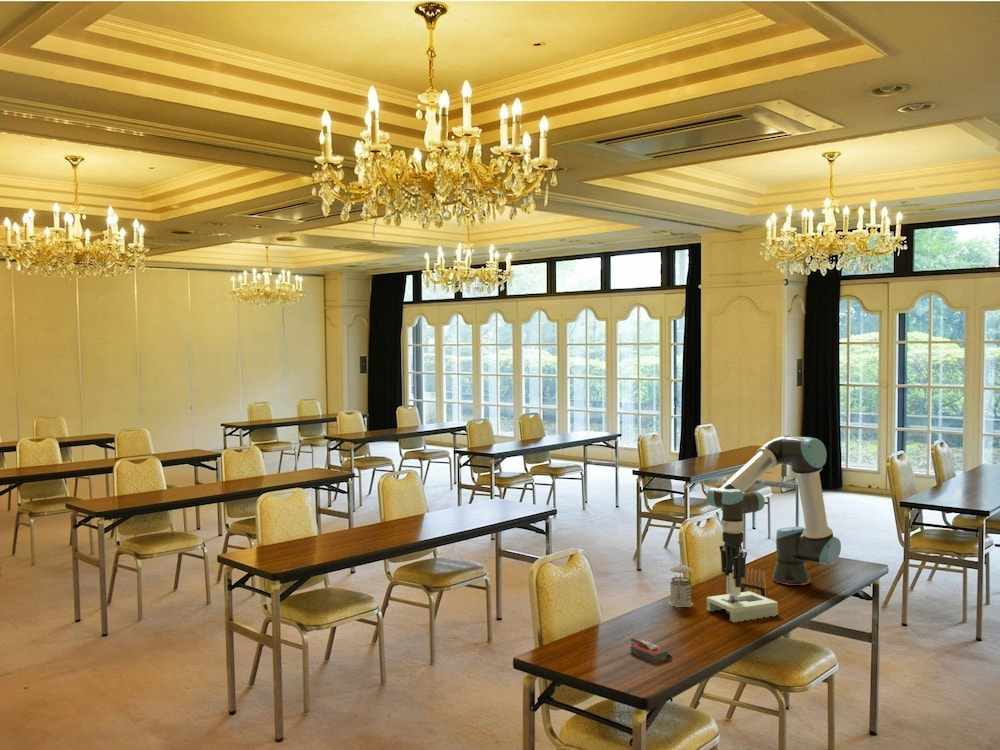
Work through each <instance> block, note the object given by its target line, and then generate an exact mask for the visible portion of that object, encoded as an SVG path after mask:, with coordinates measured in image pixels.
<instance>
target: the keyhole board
mask: <svg viewBox="0 0 1000 750" xmlns="http://www.w3.org/2000/svg"><path fill="white" fill-rule="evenodd" d="M778 604H779V602H778V601H776V600H774V599H771V598H768V597H767V598H766V597H763V596H761V595H758V594H756V593H753V592H750V591H747V592H741V591H740V595H739V596H737V602H735V603H733V602H730V601H729V594H728V593H726V594H725V593H724V594H719V595H712V596H706V611H707V610H708V611H707V612H709V611H711V612H715V610H718V611H722V610H721V609H725V611H726V610H728V611H730V615H729V621H730V622H731V621H732V622H731V623H738V621H739V622H745V621H744V620H746V621H752V620H757V618H759V619H764V618H763V617H765V618H770V617H769V616H772V617H777V616H776V615H778V616H779V611H778V610H779V605H778ZM751 619H752V620H751Z"/></svg>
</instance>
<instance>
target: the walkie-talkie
mask: <svg viewBox="0 0 1000 750" xmlns="http://www.w3.org/2000/svg"><path fill="white" fill-rule="evenodd" d="M630 641H631V642H632V643H634V644H632V645H630V654H631V653H633V654H636V655H638V656H640V657H639V658H641V657H642V658H641V659H643V658H645V659H644V660H646V659H647V660H646V661H648V660H649V661H648V662H650V661H651V663H653V662H658V663H662V662H665V661H668V660H669V659H670V660H671V659H672V658H673V656H672V654H669V651H668V650H665V649H662V648H660V647H659V646H658V645H656V644H654V643H652V642H650V641H647V640H646V639H642V640H638V639H635V638H632V637H631V638H630ZM633 654H632V655H633ZM636 655H635V656H636ZM638 656H637V657H638ZM664 660H665V661H664ZM661 661H662V662H661Z"/></svg>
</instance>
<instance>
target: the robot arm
mask: <svg viewBox="0 0 1000 750" xmlns="http://www.w3.org/2000/svg"><path fill="white" fill-rule="evenodd" d="M827 455H828V454H827V449H826V446H825V444H824V443H823V442H822V441H821V440H820V439H818V438H815V437H811V436H791V435H780V436H778V437H775V438H773V439H771V440H769V441H767V442H765V443H764V444H763V445H761V446H760V447H759V448H758V449H757V450H756V451H755V455H754V456H752V457H751V459H749V460H747V462H746V463H745V464H744V465H743V466H742V467H741V468H739V469H738V470H737V471H736V472H735V473H734V474H733V475H731V477H729V478H728V479H727V480H726V481H725V482H724V483H723V484H722V485H721V486H719V487H711V488H709V489H708V490H707V492H706V497H705V499H706V503H707V504H708V505H709V506H711V507H714V508H717V509H718V508H719V509H722V511H721V512H722V514H721V515H722V530H723V531H722V537H721V538H722V542H723V543H724V544H723V545H720V546H719V551H720V560H721V564H720V565H721V572H722V573H724V575H725V583H726V594H729V572H734V577H733V596H739V595H740V592H741V583H742V578H744V577H745V571H746V562H747V555H748V552H747V551H743V547H742V543H744V532H743V531H744V515H745V514H750V513H751V514H752V513H756V512H760V511H762V510H763V508H764V507H765V505H766V501H765V497H764V496H763V494H762V493H760V492H759V491H747V490H748V489H749V488H750V487H751V486H752V485H753V484H754V483H755V482H756V481H758V480H759V478H761V477H762V476H763V475H764V474H765V473H767V471H768V470H771V469H774V468H775V467H776V466H778V465H790V466H791V471H792V473H793V474H795V475H796V476H797V484H798V490H799V496H800V503H801V507H802V514H803V520H804V527H803V526H789V527H788V526H787V527H781V528H778V529H777V530H776V536H775V537H776V538H775V540H776V541H775V543H776V545H775V546H776V551H775V552H776V563H775V567H774V571H773V573H772V576H771V577H772V579H773V580H775V581H777V582H781V583H788V584H801V583H806V582H808V581H810V582H811V578H810V575H809V574H810V573H809V571H808V569H807V566H806V562H811V563H815V564H820V565H825V566H831V565H833V564H835V563H836V562H837V560H838V559H839V557H840V555H841V551H842V542H841V540H840V539H839V538H838V537H836V536H834V533H833V529H832V528H830V527H829V526H828V520H827V515H826V513H827V512H826V508H825V507H826V506H825V502H824V495H823V489H822V482H821V475H820V472H821V471H822V470H823V466H825V465H826V462H827ZM746 491H747V492H746ZM773 580H772V581H773Z"/></svg>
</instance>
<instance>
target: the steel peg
mask: <svg viewBox="0 0 1000 750" xmlns="http://www.w3.org/2000/svg"><path fill="white" fill-rule="evenodd" d="M733 577H734V571H732V572H729V601H730V602H733V603H735V602H737V596H733ZM725 614H727V615H729V616H730V611H728V610H726V609H725Z"/></svg>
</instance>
